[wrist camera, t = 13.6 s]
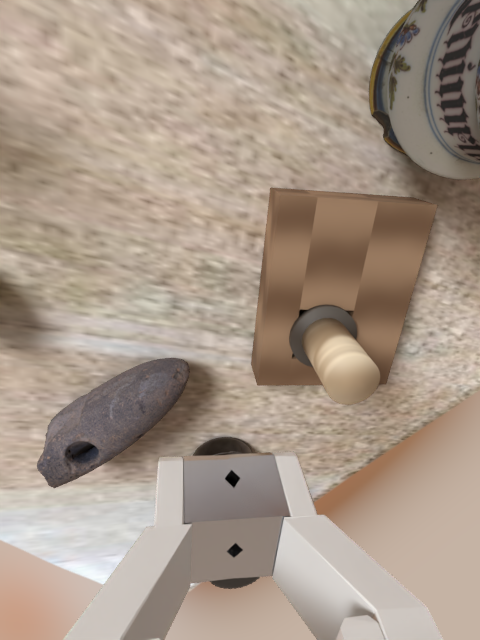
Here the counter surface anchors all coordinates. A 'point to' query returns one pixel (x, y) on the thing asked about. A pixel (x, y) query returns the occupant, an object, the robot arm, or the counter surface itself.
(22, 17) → the counter surface
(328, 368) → the maple peg
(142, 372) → the perforated stone tool
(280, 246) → the walnut board
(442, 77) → the apothecary jar
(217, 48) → the counter surface
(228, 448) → the supplement bottle
